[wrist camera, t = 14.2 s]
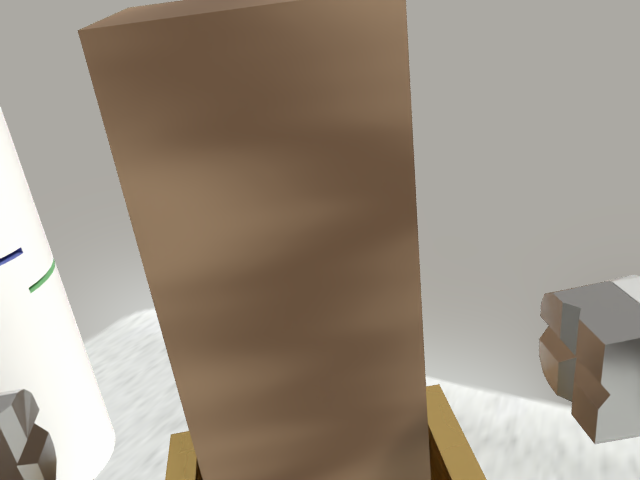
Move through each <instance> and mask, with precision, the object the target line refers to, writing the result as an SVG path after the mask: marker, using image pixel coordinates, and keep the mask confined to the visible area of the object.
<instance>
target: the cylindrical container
mask: <svg viewBox="0 0 640 480" xmlns="http://www.w3.org/2000/svg"><path fill="white" fill-rule="evenodd" d="M19 389H25V390H27V391H29V392H31V393H32V395H33V397H34V399H35V401H36V403H37V405H38V407H39V412H38V415H37V417H36V420H35V422H34V423H35V424H36V425H38V426H40V427H41V428H43V429H45V430H46V431H48V432H49V434H50V436H51V439H52V441H53V444H54V448H55V453H56V458H57V466H56V480H93V479H94V478H95V477H96V476H97V475H98V474H99V473H100V472H101V471H102V469H103V468H104V467H105V465H106V464H107V462H108V461H109V459H110V457H111V455H112V452H113V449H114V445H115V432H114V429H113V426H112V423H111V421H110V418H109V415H108V412H107V409H106V406H105V403H104V401H103V398H102V395H101V392H100V389H99V386H98V383H97V381H96V378H95V375H94V372H93V369H92V366H91V363H90V361H89V358H88V355H87V352H86V349H85V346H84V343H83V341H82V338H81V335H80V332H79V329H78V326H77V323H76V321H75V318H74V315H73V312H72V309H71V306H70V303H69V300H68V298H67V295H66V292H65V289H64V286H63V284H62V280H61V278H60V275H59V272H58V269H57V266H56V263H55V261H54V259H53V255H52V252H51V249H50V246H49V243H48V241H47V238H46V235H45V232H44V229H43V226H42V223H41V221H40V218H39V215H38V212H37V209H36V206H35V204H34V201H33V198H32V195H31V192H30V189H29V187H28V183H27V181H26V178H25V175H24V172H23V169H22V167H21V164H20V161H19V158H18V155H17V152H16V149H15V147H14V144H13V141H12V138H11V135H10V132H9V129H8V126H7V124H6V121H5V118H4V115H3V112H2V110H1V106H0V393H1V392H7V391H13V390H19Z"/></svg>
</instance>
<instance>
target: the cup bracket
mask: <svg viewBox="0 0 640 480" xmlns="http://www.w3.org/2000/svg"><path fill="white" fill-rule="evenodd" d="M426 398H427V417H428V436H429V456H430V475H431V480H486V478H485V476H484V474H483V472H482V470H481V468H480V466H479V464H478V462H477V460H476V458H475V456H474V454H473V452H472V450H471V447H470V445H469V443H468V441H467V439H466V437H465V435H464V433H463V431H462V429H461V427H460V425H459V423H458V421H457V419H456V417H455V415H454V413H453V411H452V409H451V407H450V405H449V403H448V401H447V399H446V397H445V395H444V393H443V391H442V389H441V387H440V385H439V384H438V385H433V386H427V387H426ZM165 480H203V478H202V475H201V471H200V467H199V464H198V460H197V457H196V453H195V450H194V446H193V442H192V439H191V435H190V432H189V431H187V432H182V433H176V434H171V438H170V446H169V454H168V462H167V470H166V478H165Z"/></svg>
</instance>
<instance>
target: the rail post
mask: <svg viewBox="0 0 640 480" xmlns="http://www.w3.org/2000/svg"><path fill="white" fill-rule="evenodd" d="M78 33H79V37H80V40H81V44H82V48H83V51H84V55H85V58H86V62H87V65H88V69H89V73H90V76H91V80H92V83H93V87H94V91H95V94H96V98H97V101H98V105H99V108H100V112H101V116H102V119H103V123H104V126H105V130H106V133H107V137H108V141H109V144H110V148H111V152H112V155H113V159H114V162H115V166H116V170H117V173H118V177H119V180H120V184H121V188H122V191H123V195H124V198H125V202H126V205H127V209H128V212H129V216H130V220H131V223H132V227H133V231H134V234H135V237H136V241H137V245H138V248H139V252H140V256H141V259H142V263H143V266H144V270H145V274H146V277H147V281H148V284H149V288H150V291H151V295H152V299H153V302H154V306H155V310H156V313H157V317H158V320H159V324H160V327H161V331H162V335H163V338H164V342H165V345H166V349H167V353H168V356H169V360H170V363H171V367H172V371H173V374H174V378H175V381H176V385H177V388H178V392H179V396H180V399H181V403H182V406H183V410H184V414H185V417H186V421H187V424H188V428H189V432H190V435H191V439H192V442H193V446H194V450H195V453H196V457H197V460H198V464H199V467H200V471H201V475H202V478H203V480H431V475H430V456H429V436H428V417H427V398H426V379H425V360H424V342H423V341H424V340H423V321H422V302H421V283H420V264H419V245H418V225H417V207H416V187H415V169H414V149H413V130H412V111H411V92H410V72H409V53H408V34H407V15H406V0H183V1H175V2H168V3H160V4H152V5H145V6H138V7H130V8H127V9H124V10H122V11H120V12H118V13H115V14H113V15H111V16H109V17H107V18H104V19H102V20H100V21H98V22H95V23H93V24H91V25H89V26H87V27H85V28H82V29H80V30H78Z"/></svg>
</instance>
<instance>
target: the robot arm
mask: <svg viewBox="0 0 640 480" xmlns="http://www.w3.org/2000/svg"><path fill="white" fill-rule="evenodd" d="M540 316H541V317H542V319H543V320H544V321H545V322H546V323H547V324H548V325H549V326H548V328H547V329H546V330H545V332H544V333H543V335H542V336H541V337H540V339H539V357H540V361H541V365H542V370H543V373H544V375H545V377H546V379H547V381H548V383H549V385H550V386H551V388H552V389H553V391H554V392H555V393H556V395H558V396H560V397H563V398H565V399H567V400H569V401H571V402H572V412H571V414H572V415H573V417H574V418H575V419H576V421H577V422H578V423H579V424H580V426H581V427H582V428H583V430H584V431H585V432H586V433H587V435H588V436H589V437H590V438H591V440H592V441H593V442H594V444H599V443H605V442H610V441H616V440H622V439H627V438H633V437H639V436H640V276H636V275H630V276H625V277H621V278H616V279H612V280H608V281H604V282H600V283H596V284H591V285H586V286H581V287H576V288H571V289H566V290H561V291H556V292H551V293H546V294H544V297H543V299H542V302H541V314H540ZM38 412H39V407H38V405H37V403H36V401H35V399H34V397H33V395H32V393H31V392H29V391H27V390H25V389H19V390H13V391H7V392H1V393H0V480H56V466H57V458H56V453H55V448H54V444H53V441H52V439H51V436H50V434H49V432H48V431H46V430H45V429H43V428H41V427H40V426H38V425H36V424H35V423H34V422H35V420H36V417H37V415H38Z"/></svg>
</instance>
